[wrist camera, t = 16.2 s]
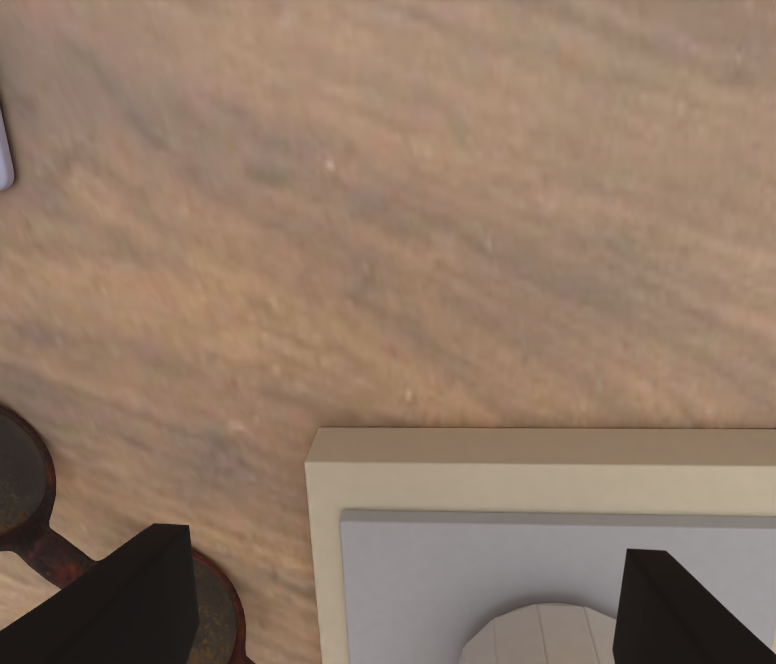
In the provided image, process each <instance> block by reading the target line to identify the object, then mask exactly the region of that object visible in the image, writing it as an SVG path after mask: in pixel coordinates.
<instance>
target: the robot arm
mask: <svg viewBox="0 0 776 664" xmlns="http://www.w3.org/2000/svg"><path fill="white" fill-rule="evenodd" d="M13 181H14V169H13V165H12V160H11V155H10V151H9V146H8V141H7V136H6V132H5V127H4V122H3V118H2V113H1V108H0V191H1V190H5V189H8V188H9V187H10V186H11V185H12V183H13ZM199 624H200V621H199V612H198V603H197V594H196V585H195V576H194V566H193V557H192V548H191V539H190V530H189V525H176V524H157V523H154V524H152V525H151V526H149V527H148V528H146V529H145V530H143V531H142V532H140V533H139V534H138V535H136V536H135V537H133V538H132V539H131V540H129V541H128V542H126V543H125V544H124V545H122V546H121V547H120V548H118V549H117V550H116V551H114V552H113V553H111V554H110V555H109V556H107V557H106V558H105V559H103V560H102V561H101V562H99V563H98V564H96V565H95V566H94V567H92V568H91V569H90V570H88V571H87V572H85V573H84V574H83V575H81V576H80V577H79V578H77V579H76V580H74V581H73V582H72V583H70V584H69V585H67V586H66V587H65V588H63V589H62V590H60V591H59V592H58V593H56V594H55V595H54V596H52V597H51V598H49V599H48V600H46V601H45V602H43V603H42V604H40V605H39V606H37V607H36V608H34V609H33V610H31V611H30V612H28V613H27V614H25V615H24V616H22V617H21V618H19V619H18V620H16V621H15V622H13V623H12V624H10V625H9V626H7V627H6V628H4V629H3V630H1V631H0V664H186V663H187V660H188V658H189V655H190V652H191V649H192V646H193V642H194V639H195V636H196V633H197V630H198V627H199ZM612 652H613V657H614V661H615V664H776V654H775V653H774V652H773V651H772V650H771V649H770V648H769V647H767V646H766V645H765V644H764V643H763V642H762V641H761V640H760V639H759V638H758V637H756V636H755V635H754V634H753V633H752V632H751V631H750V630H749V629H748V628H747V627H746V626H745V625H743V624H742V623H741V622H740V621H739V620H738V619H737V618H736V617H735V616H734V615H733V614H732V613H731V612H730V611H729V610H728V609H727V608H726V607H724V606H723V605H722V604H721V603H720V602H719V601H718V600H717V599H716V598H715V597H714V596H713V595H712V594H711V593H710V592H709V591H708V590H707V589H706V588H705V587H704V586H703V585H702V584H701V583H700V582H699V581H698V580H697V579H696V578H695V577H694V576H692V575H691V574H690V573H689V572H688V571H687V570H686V569H685V568H684V567H683V566H682V565H681V564H680V563H679V562H678V561H677V560H676V559H675V558H674V557H673V556H672V555H670V554H669V553H668V552H667V551H666V550H648V549H629V548H627V551H626V558H625V564H624V571H623V578H622V585H621V592H620V599H619V606H618V613H617V620H616V626H615V633H614V640H613V647H612Z"/></svg>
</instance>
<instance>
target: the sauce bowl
mask: <svg viewBox="0 0 776 664" xmlns="http://www.w3.org/2000/svg"><path fill="white" fill-rule="evenodd" d="M615 626H616V619H613V618H611V617H609V616H607V615H604V614H602V613H600V612H597V611H595V610H593V609H590V608H588V607H586V606H584V607H582V606H578V605H573V604H567V603H556V602H549V603H537V604H531V605H527V606H523V607H519V608H517V609H514V610H512V611H509V612H507V613H505V614H503V615H501V616H498V617H495V618H494V620H491V621H490V622H489V623H488V624H487V625H486V626H485V627H484V628H483V629H481V630H480V631H479V632H478V633H477V634H476V635H475V636H474V637H473V638H472V639H471V640H470V641H469V642H468V643H467V644H465V647H464V648H463V650H462V653H461V657H460V660H459V663H458V664H615V661H614V657H613V652H612V647H613V640H614V633H615Z"/></svg>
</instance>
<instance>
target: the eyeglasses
mask: <svg viewBox="0 0 776 664" xmlns="http://www.w3.org/2000/svg"><path fill="white" fill-rule="evenodd" d="M55 496H56V475H55V469H54V464H53V461H52V458H51V455H50V453H49V451H48V449H47V447H46V445H45V444H44V442H43V441H42V440H41V438H40V437H39V436H38V434H37V433H36V432H35V431H34V430H33V429H32V428H31V427H30V426H29V425H28V424H27V423H26V422H25V421H24V420H22V419H21V418H20V417H19V416H18V415H16V414H15V413H13V412H12V411H11V410H9V409H7V408H5V407H4V406H2V405H0V551H13V552H15V553H16V554H18V555H19V556H20V557H21V558H22V559H23V560H24V561H25V562H26V563H27V564H28V565H29V566H30V567H31V568H33V569H34V570H35V571H36V572H38V573H39V574H40V575H41V576H43V577H44V578H45V579H47V580H48V581H50V582H51V583H52V584H54V585H56V586H57V587H59V588H60V589H63V588H65V587H66V586H67V585H69V584H70V583H72V582H73V581H74V580H76V579H77V578H79V577H80V576H81V575H83V574H84V573H85V572H87V571H88V570H90V569H91V568H92V567H94V566H95V565H96V564H98V563H99V562H101V561H102V560H103V559H102V560H100V561H94V560H92V559H91V558H89V557H88V556H87V555H86V554H85V553H83V552H82V551H81V550H79V549H78V548H77V547H75V546H74V545H73V544H71V543H70V542H69V541H68V540H66V539H65V538H64V537H62V536H61V535H59V534H58V533H56V532H55V531H54V530H52V529H51V528H50V527H49V520H50V516H51V513H52V510H53V506H54V501H55ZM192 557H193V566H194V576H195V585H196V594H197V603H198V612H199V621H200V624H199V627H198V630H197V633H196V636H195V639H194V642H193V646H192V649H191V652H190V655H189V658H188V660H187V663H186V664H255V663H254V662H253V661H252V660H251V659H249V658H248V657H247V656H246V650H245V641H246V622H245V615H244V610H243V607H242V604H241V601H240V598H239V596H238V594H237V592H236V590H235V588H234V586H233V584H232V583H231V581H230V580H229V579H228V577H227V576H226V575H225V574H224V573H223V572H222V571H221V570H220V569H219V568H218V567H217V566H216V565H215V564H213V563H212V562H211V561H209V560H208V559H206V558H205V557H203V556H202V555H200V554H198V553H197V552H195V551H193V550H192ZM104 559H105V558H104Z"/></svg>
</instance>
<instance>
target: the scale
mask: <svg viewBox="0 0 776 664" xmlns="http://www.w3.org/2000/svg"><path fill="white" fill-rule="evenodd" d="M304 469H305V480H306V491H307V502H308V513H309V525H310V536H311V547H312V558H313V569H314V580H315V592H316V603H317V614H318V625H319V636H320V648H321V659H322V664H458V663H459V660H460V657H461V653H462V650H463V648H464V647H465V644H467V643H468V642H469V641H470V640H471V639H472V638H473V637H474V636H475V635H476V634H477V633H478V632H479V631H480V630H481V629H483V628H484V627H485V626H486V625H487V624H488V623H489V622H490V621H491V620H494V618H495V617H498V616H501V615H503V614H505V613H507V612H509V611H512V610H514V609H517V608H519V607H523V606H527V605H531V604H537V603H549V602H556V603H567V604H573V605H578V606H582V607H584V606H586V607H588V608H590V609H593V610H595V611H597V612H600V613H602V614H604V615H607V616H609V617H611V618H613V619H616V620H617V613H618V606H619V599H620V592H621V585H622V578H623V571H624V564H625V558H626V551H627V548H629V549H648V550H666V551H667V552H668V553H669V554H670V555H672V556H673V557H674V558H675V559H676V560H677V561H678V562H679V563H680V564H681V565H682V566H683V567H684V568H685V569H686V570H687V571H688V572H689V573H690V574H691V575H692V576H694V577H695V578H696V579H697V580H698V581H699V582H700V583H701V584H702V585H703V586H704V587H705V588H706V589H707V590H708V591H709V592H710V593H711V594H712V595H713V596H714V597H715V598H716V599H717V600H718V601H719V602H720V603H721V604H722V605H723V606H724V607H726V608H727V609H728V610H729V611H730V612H731V613H732V614H733V615H734V616H735V617H736V618H737V619H738V620H739V621H740V622H741V623H742V624H743V625H745V626H746V627H747V628H748V629H749V630H750V631H751V632H752V633H753V634H754V635H755V636H756V637H758V638H759V639H760V640H761V641H762V642H763V643H764V644H765V645H766V646H767V647H769V648H770V649H771V650H772V651H773V652H774V653H775V654H776V429H591V428H348V427H320V428H318V430H317V432H316V435H315V437H314V440H313V442H312V445H311V447H310V450H309V452H308V455H307V457H306V459H305V462H304Z"/></svg>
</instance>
